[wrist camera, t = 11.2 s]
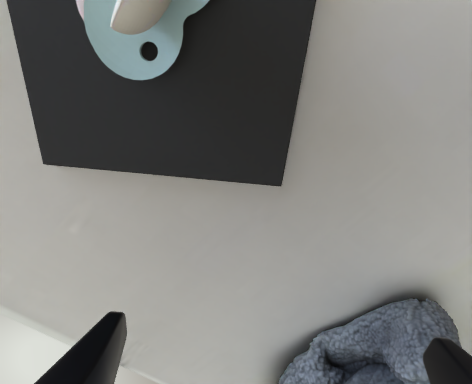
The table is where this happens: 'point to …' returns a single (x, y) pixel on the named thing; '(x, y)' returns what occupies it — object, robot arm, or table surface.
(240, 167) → the mat
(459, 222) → the table surface
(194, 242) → the table surface
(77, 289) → the table surface
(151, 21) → the pacifier
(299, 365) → the koala plush
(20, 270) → the table surface
